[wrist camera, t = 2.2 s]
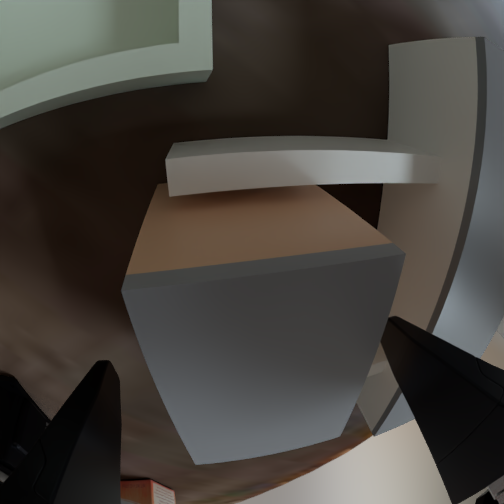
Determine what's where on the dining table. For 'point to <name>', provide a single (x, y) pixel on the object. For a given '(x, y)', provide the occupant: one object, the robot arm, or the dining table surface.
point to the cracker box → (145, 492)
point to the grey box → (258, 314)
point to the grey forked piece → (403, 193)
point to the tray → (97, 50)
